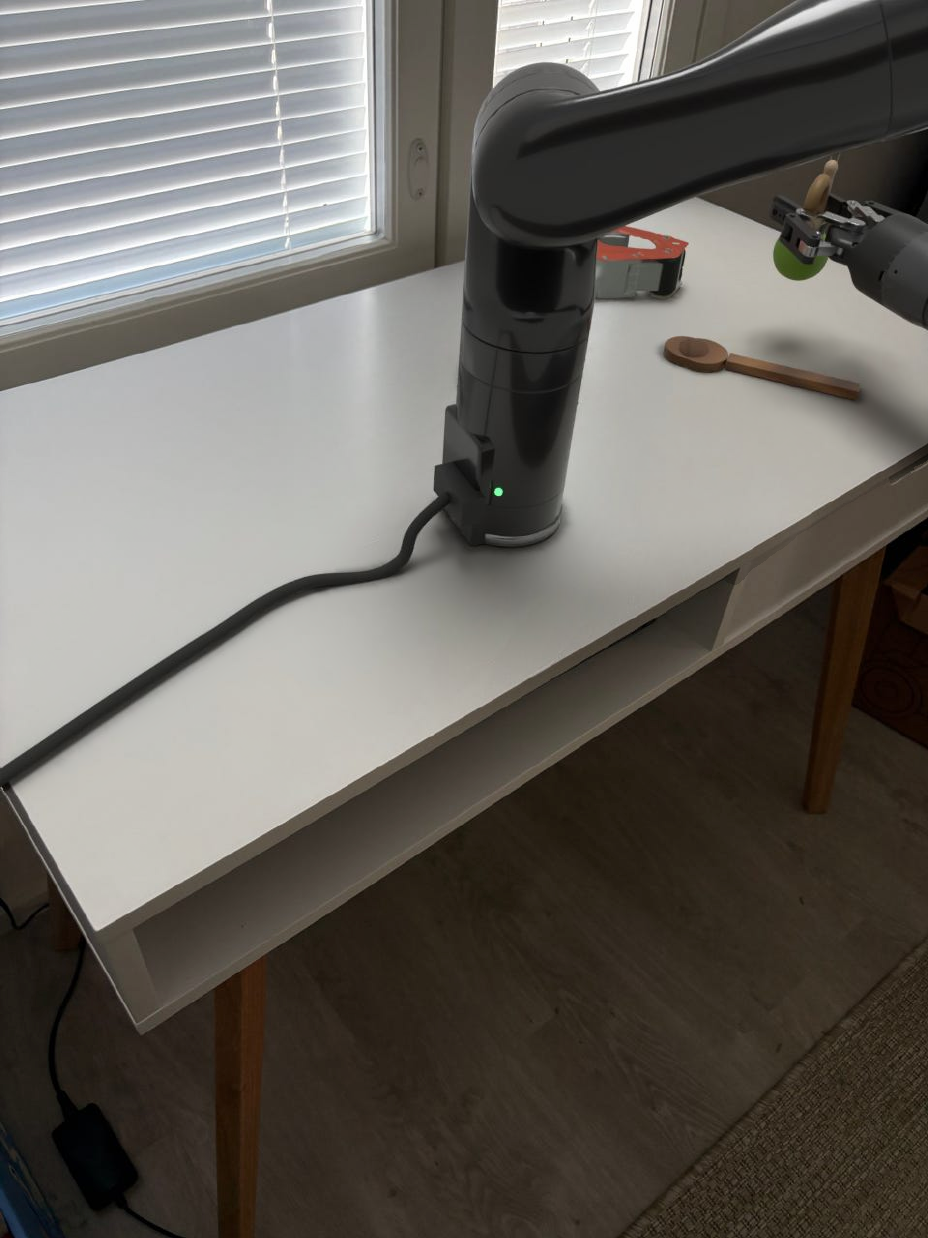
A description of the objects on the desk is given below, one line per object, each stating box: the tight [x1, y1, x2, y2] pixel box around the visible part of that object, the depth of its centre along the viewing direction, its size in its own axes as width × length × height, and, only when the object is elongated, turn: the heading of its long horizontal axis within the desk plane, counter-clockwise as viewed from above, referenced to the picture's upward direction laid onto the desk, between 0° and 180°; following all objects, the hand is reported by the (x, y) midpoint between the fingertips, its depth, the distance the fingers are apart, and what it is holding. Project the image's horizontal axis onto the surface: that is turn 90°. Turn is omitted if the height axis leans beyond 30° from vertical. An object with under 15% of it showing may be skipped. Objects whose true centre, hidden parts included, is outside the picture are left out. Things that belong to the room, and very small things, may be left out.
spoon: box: [663, 335, 861, 401], centre depth 103 cm, size 20×5×1 cm, turn 70°
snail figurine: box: [772, 153, 843, 282], centre depth 100 cm, size 5×6×12 cm
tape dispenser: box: [595, 225, 689, 300], centre depth 113 cm, size 18×5×20 cm
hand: (795, 202), depth 101 cm, fingers closed on snail figurine, 4 cm apart
